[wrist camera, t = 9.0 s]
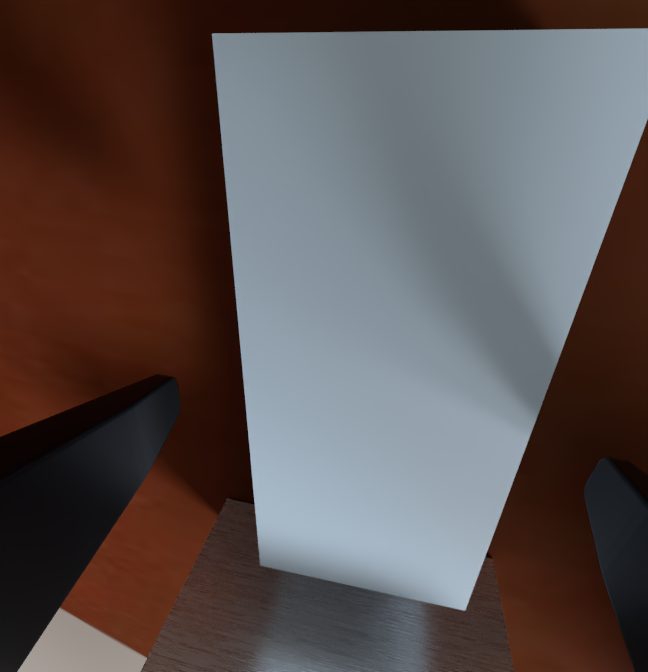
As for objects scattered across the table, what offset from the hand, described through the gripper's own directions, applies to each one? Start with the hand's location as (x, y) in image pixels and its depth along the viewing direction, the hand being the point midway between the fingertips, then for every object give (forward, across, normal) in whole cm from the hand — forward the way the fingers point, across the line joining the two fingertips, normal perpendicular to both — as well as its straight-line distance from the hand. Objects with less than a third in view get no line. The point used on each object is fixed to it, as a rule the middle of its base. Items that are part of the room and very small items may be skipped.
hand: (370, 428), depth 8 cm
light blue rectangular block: (+5, 0, 0) cm, 5 cm away
